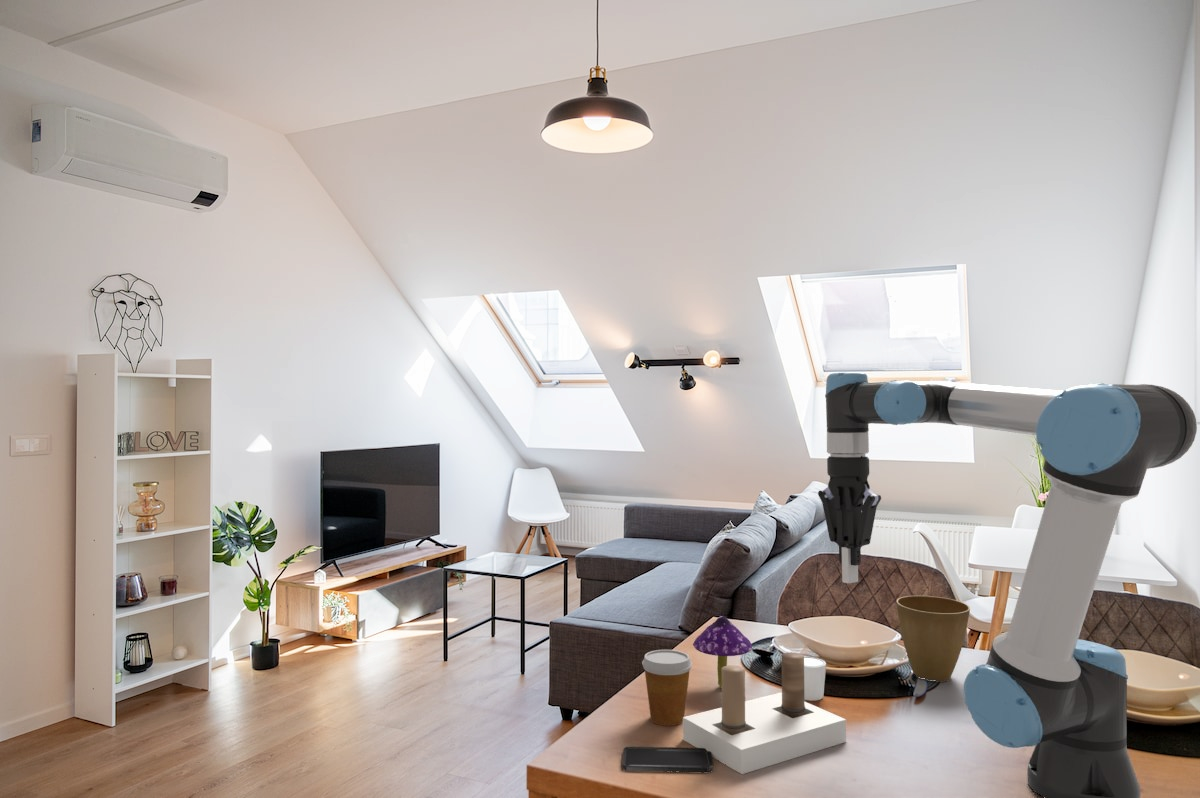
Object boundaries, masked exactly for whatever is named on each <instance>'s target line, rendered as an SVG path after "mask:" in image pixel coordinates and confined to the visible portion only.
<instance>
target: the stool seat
mask: <svg viewBox="0 0 1200 798" xmlns="http://www.w3.org/2000/svg"><path fill="white" fill-rule="evenodd" d="M781 705H782V691H780V692H778V693H774V694H769V695H764V696H761V697H758V698H757V697H756V698H753V699H750V700H749V699H748V700H746V669H745V667H742V666H740V665H727V666H724V667H722V687H721V707H719V708H714V709H710V710H706V711H701V712H698V713H694V714H691V715H687V716H684V717H683V722H682V740H683V741H685V742H686V743H688V744H690V745H691V746H693V747H694V748H696V747H697V748H705V749H706V750H707V751H710V752H711V755H712V758H713V757H714V758H713V759H715V760H717V761H718V760H719V762H720V763H721V764H722V765H723V764H724V765H725V764H726V765H725V766H727V767H729V768H730V769H732V770H734V771H736V772H737V773H739V774H741V775H744V774H747V773H750V772H753V771H757V770H761V769H763V768H767V767H770V766H772V765H777V764H779V763H784V762H786V761H789V760H792V759H795V758H799V757H802V756H806V755H808V754H812V753H815V752H818V751H822V750H824V749H827V748H832V747H834V746H838V745H840V744H845V743H846V742H847V719H846V718H844V717H841V716H839V715H837V714H835V713H832V712H830V711H828V710H825V709H823V708H821V707H818V706H816V705H814V704H812V703H810V702H807V701H806V700H804V706H805V711H804V712H805V715H803V716H800V717H796V718H791V717H789V716H786V715H784V714H782V708H781Z"/></svg>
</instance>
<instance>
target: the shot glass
mask: <svg viewBox="0 0 1200 798" xmlns="http://www.w3.org/2000/svg"><path fill="white" fill-rule="evenodd" d="M826 669H827V662H826V661H825V660H823V659H822V658H818V657H812V656H804V701H820V700H821V699H824V693H825V681H826V671H827V670H826Z"/></svg>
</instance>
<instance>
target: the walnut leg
mask: <svg viewBox="0 0 1200 798" xmlns="http://www.w3.org/2000/svg"><path fill="white" fill-rule="evenodd" d="M804 657H805V655H804V654H801V653H798V652H783V653H782V654H781V692H782V705H781V708H782V714H784V715H786V716H789V717H791V718H796V717H800V716H803V715H805V712H804V711H805V706H804V701H805V700H804Z"/></svg>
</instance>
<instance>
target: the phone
mask: <svg viewBox="0 0 1200 798" xmlns="http://www.w3.org/2000/svg"><path fill="white" fill-rule="evenodd" d="M622 752H623V753H622V759H621V760H622V761H621V769H622V770H623V771H625V772H626V771H627V772H649V771H663V772H662V773H668V772H667V771H670V772H669V773H677V772H676V771H679V772H678V773H689V772H701V774H705V773H704V772H710V773H712V772H713V771H714V762H713V757H712V755H711V752H710V751H707V750H706V749H705V748H696V747H678V746H677V747H672V746H670V747H668V746H667V747H666V746H632V745H631V746H629V745H628V746H625V747H624V748H623V750H622ZM671 771H672V772H671ZM711 771H712V772H711Z"/></svg>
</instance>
